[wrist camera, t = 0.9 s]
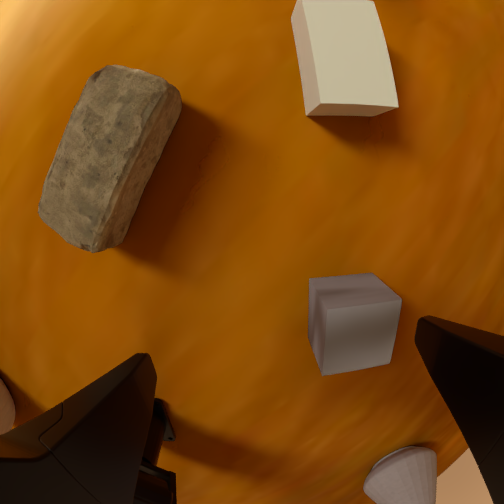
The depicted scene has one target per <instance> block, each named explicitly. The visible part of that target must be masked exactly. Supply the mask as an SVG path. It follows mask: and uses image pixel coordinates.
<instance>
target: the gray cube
mask: <svg viewBox="0 0 504 504" xmlns="http://www.w3.org/2000/svg"><path fill="white" fill-rule="evenodd" d="M401 304H402V299H401V298H400V297H399V296H398V295H397V294H396V293H394V292H393V291H392V290H391V289H390V288H389V287H388V286H387V285H385V284H384V283H383V282H382V281H381V280H380V279H379V278H377V277H376V276H375V275H374V274H373V273H365V274H354V275H344V276H333V277H321V278H310V279H309V320H308V338H309V341H310V344H311V346H312V349H313V352H314V355H315V357H316V360H317V363H318V366H319V368H320V371H321V374H322V376H324V375H331V374H337V373H343V372H349V371H355V370H360V369H365V368H370V367H375V366H380V365H385V364H389V363H390V360H391V356H392V352H393V347H394V342H395V338H396V333H397V327H398V322H399V316H400V310H401Z"/></svg>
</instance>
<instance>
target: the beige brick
mask: <svg viewBox="0 0 504 504" xmlns="http://www.w3.org/2000/svg"><path fill="white" fill-rule="evenodd" d="M291 22H292V28H293V33H294V38H295V44H296V50H297V56H298V62H299V68H300V75H301V82H302V89H303V96H304V104H305V112H306V116H323V115H336V116H370V117H373V116H376V115H379V114H382V113H384V112H387V111H390V110H393V109H395V108H398V107H399V106H398V100H397V94H396V88H395V82H394V77H393V72H392V67H391V63H390V58H389V54H388V50H387V46H386V42H385V38H384V34H383V31H382V27H381V24H380V20H379V17H378V14H377V11H376V8H375V5H374V2H373V1H368V0H297V2H296V5H295V8H294V11H293V14H292V17H291Z"/></svg>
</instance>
